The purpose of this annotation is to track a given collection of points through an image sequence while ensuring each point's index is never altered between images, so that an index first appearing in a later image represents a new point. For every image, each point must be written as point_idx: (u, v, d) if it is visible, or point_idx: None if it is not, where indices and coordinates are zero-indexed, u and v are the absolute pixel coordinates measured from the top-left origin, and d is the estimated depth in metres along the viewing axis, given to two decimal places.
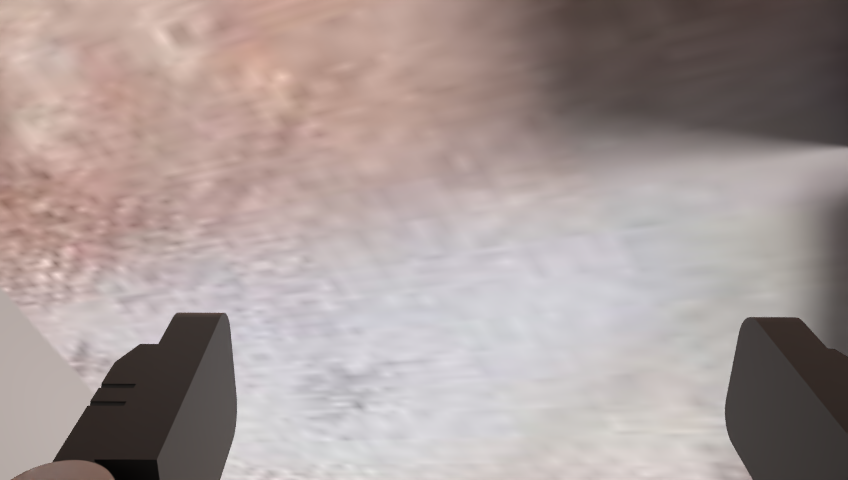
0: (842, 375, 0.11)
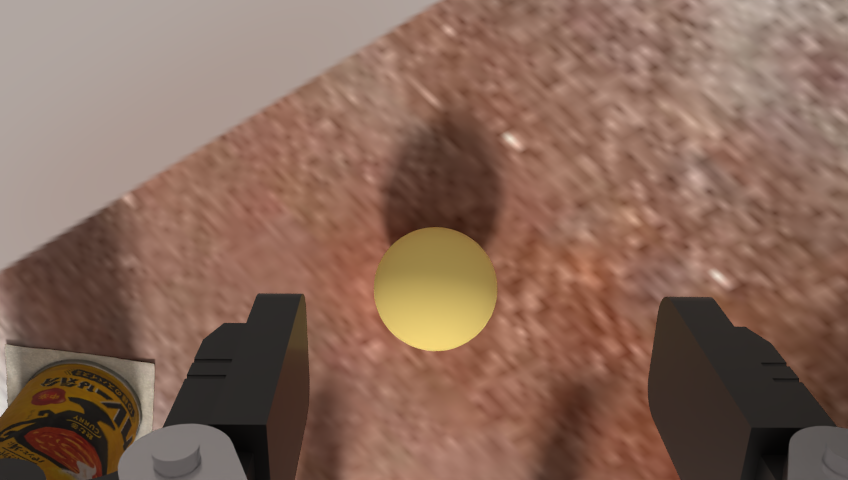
0: (742, 349, 0.11)
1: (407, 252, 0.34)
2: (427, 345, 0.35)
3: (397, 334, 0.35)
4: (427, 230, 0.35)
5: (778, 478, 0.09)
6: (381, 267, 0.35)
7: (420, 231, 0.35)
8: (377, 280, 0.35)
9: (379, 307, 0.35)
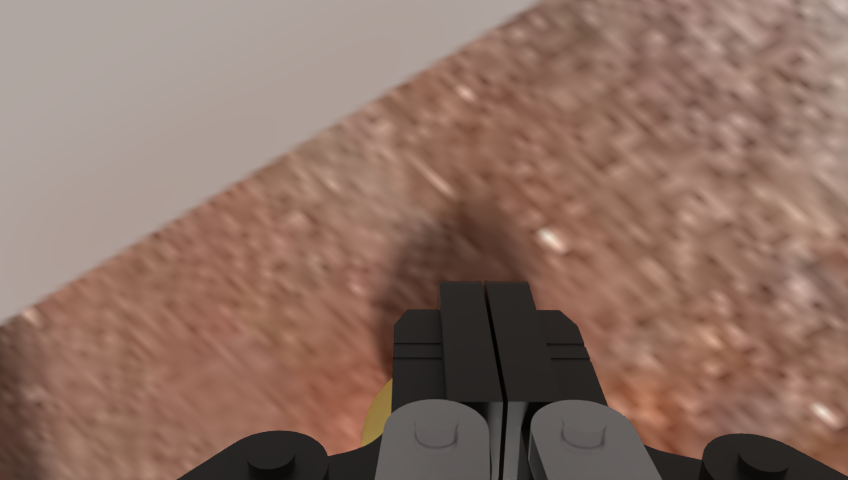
0: (534, 329, 0.12)
1: None
2: None
3: None
4: None
5: (528, 449, 0.10)
6: (371, 418, 0.25)
7: None
8: (366, 437, 0.25)
9: None
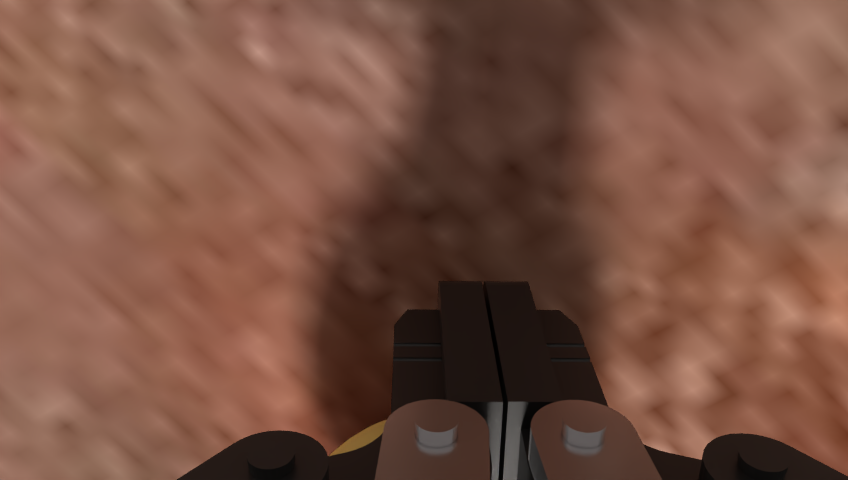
0: (534, 329, 0.12)
1: None
2: None
3: None
4: None
5: (528, 449, 0.10)
6: None
7: None
8: None
9: None
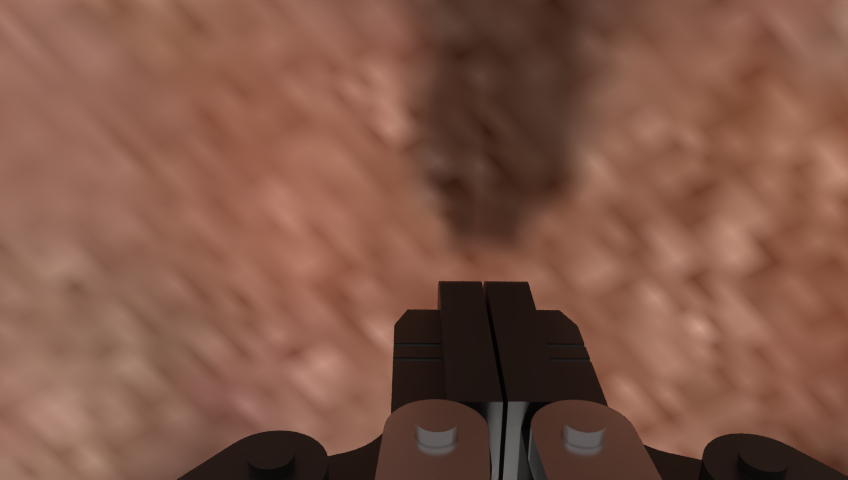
0: (534, 330, 0.12)
1: None
2: None
3: None
4: None
5: (528, 450, 0.10)
6: None
7: None
8: None
9: None
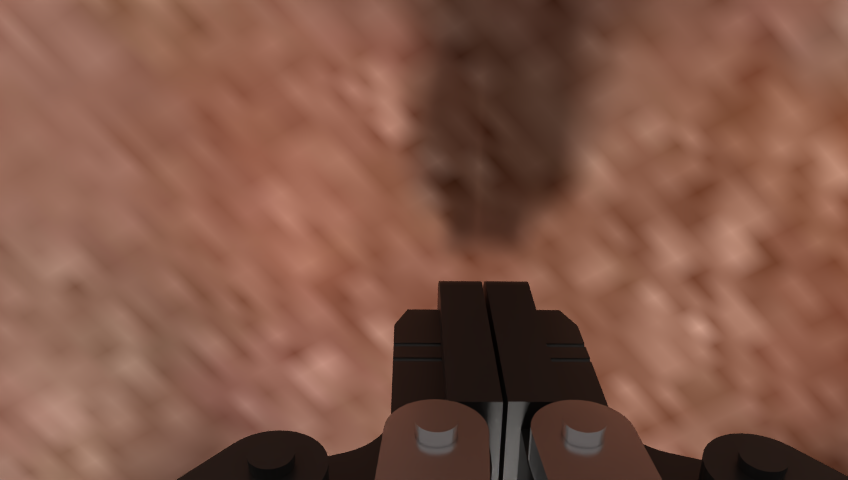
0: (534, 330, 0.12)
1: None
2: None
3: None
4: None
5: (528, 450, 0.10)
6: None
7: None
8: None
9: None
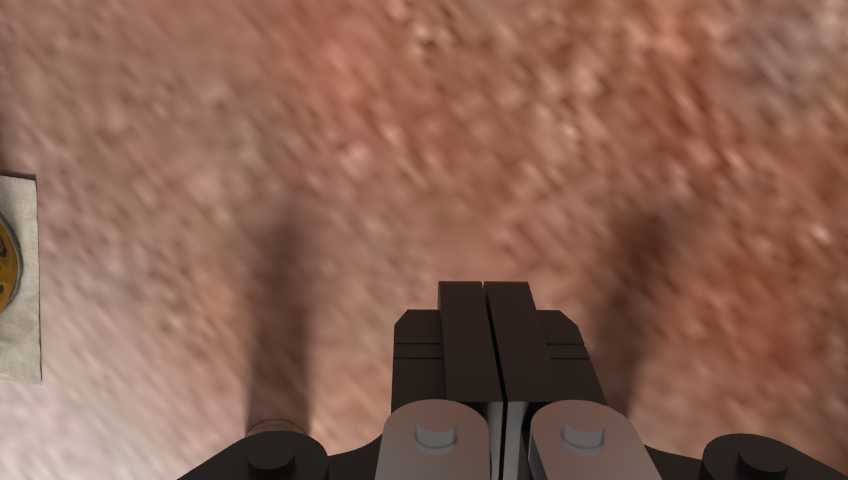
0: (534, 330, 0.12)
1: None
2: None
3: None
4: None
5: (529, 450, 0.10)
6: None
7: None
8: None
9: None
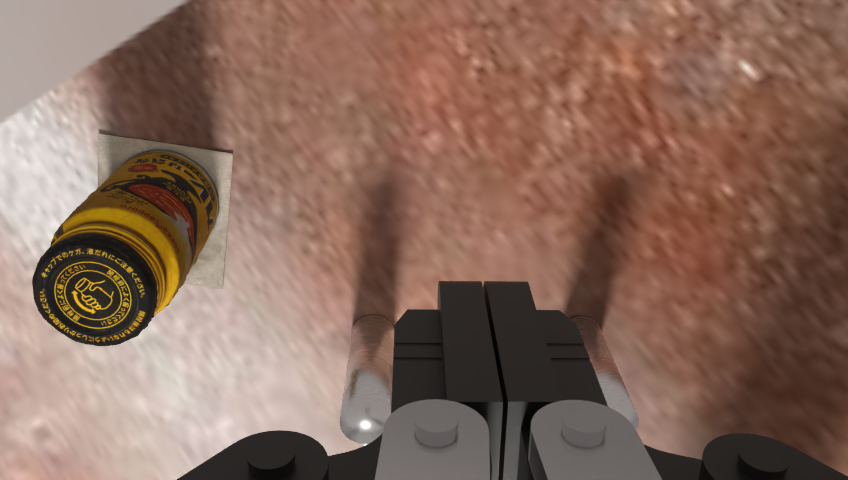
0: (534, 329, 0.12)
1: None
2: None
3: None
4: None
5: (529, 450, 0.10)
6: None
7: None
8: None
9: None
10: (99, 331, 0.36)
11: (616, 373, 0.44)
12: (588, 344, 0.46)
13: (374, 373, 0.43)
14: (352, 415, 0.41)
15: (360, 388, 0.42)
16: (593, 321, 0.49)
